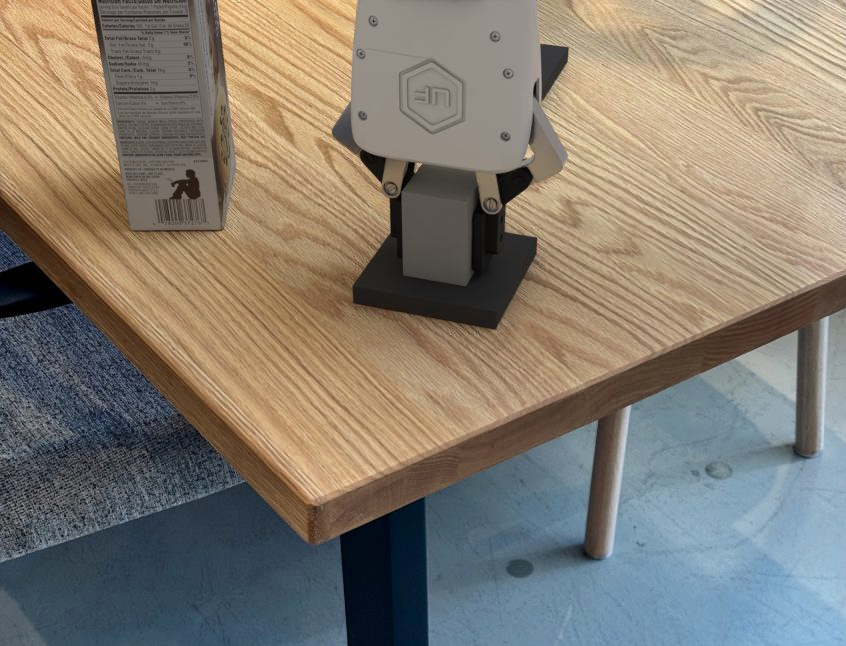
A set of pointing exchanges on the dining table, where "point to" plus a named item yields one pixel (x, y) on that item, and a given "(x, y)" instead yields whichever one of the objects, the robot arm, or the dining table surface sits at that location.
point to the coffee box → (168, 110)
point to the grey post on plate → (443, 256)
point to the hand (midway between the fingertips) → (447, 252)
